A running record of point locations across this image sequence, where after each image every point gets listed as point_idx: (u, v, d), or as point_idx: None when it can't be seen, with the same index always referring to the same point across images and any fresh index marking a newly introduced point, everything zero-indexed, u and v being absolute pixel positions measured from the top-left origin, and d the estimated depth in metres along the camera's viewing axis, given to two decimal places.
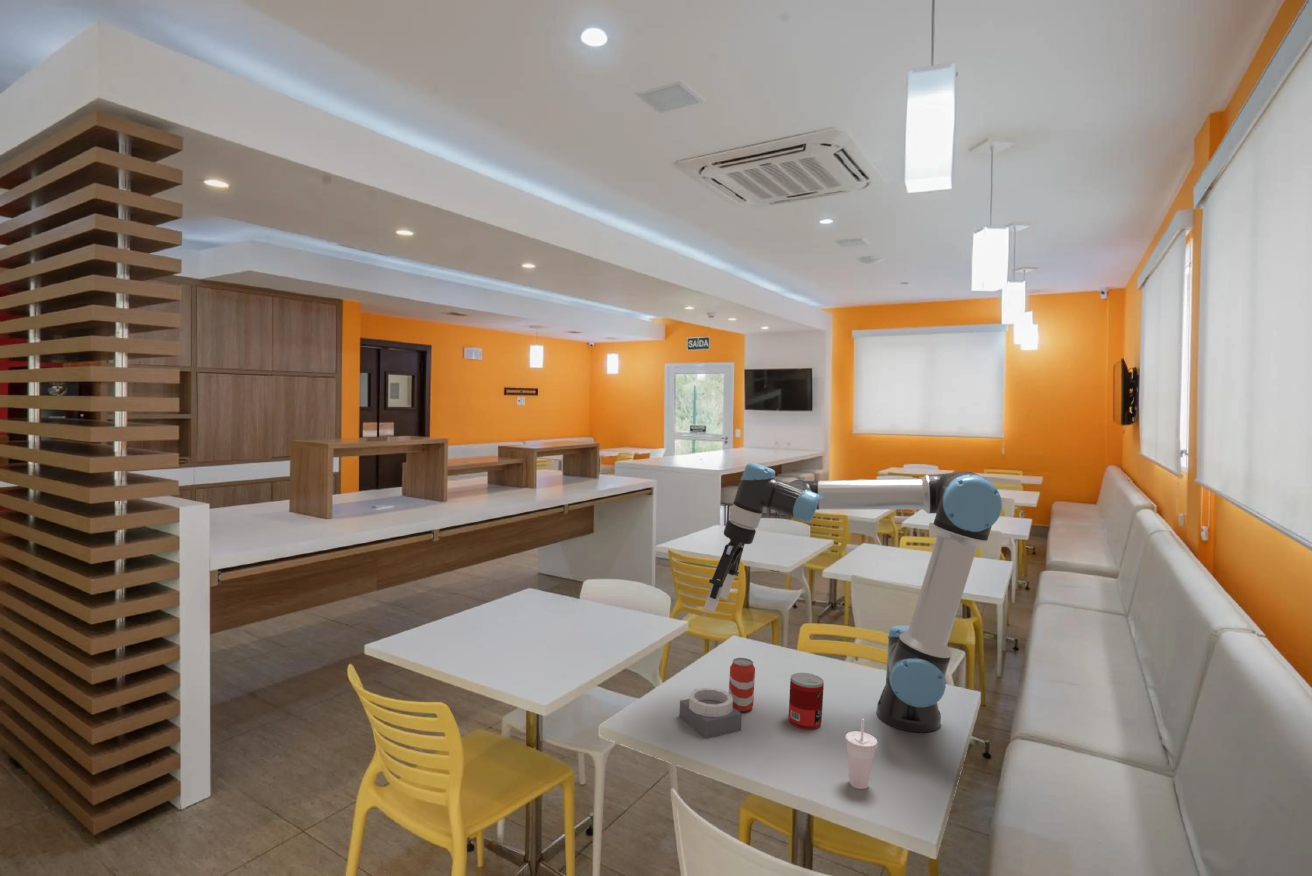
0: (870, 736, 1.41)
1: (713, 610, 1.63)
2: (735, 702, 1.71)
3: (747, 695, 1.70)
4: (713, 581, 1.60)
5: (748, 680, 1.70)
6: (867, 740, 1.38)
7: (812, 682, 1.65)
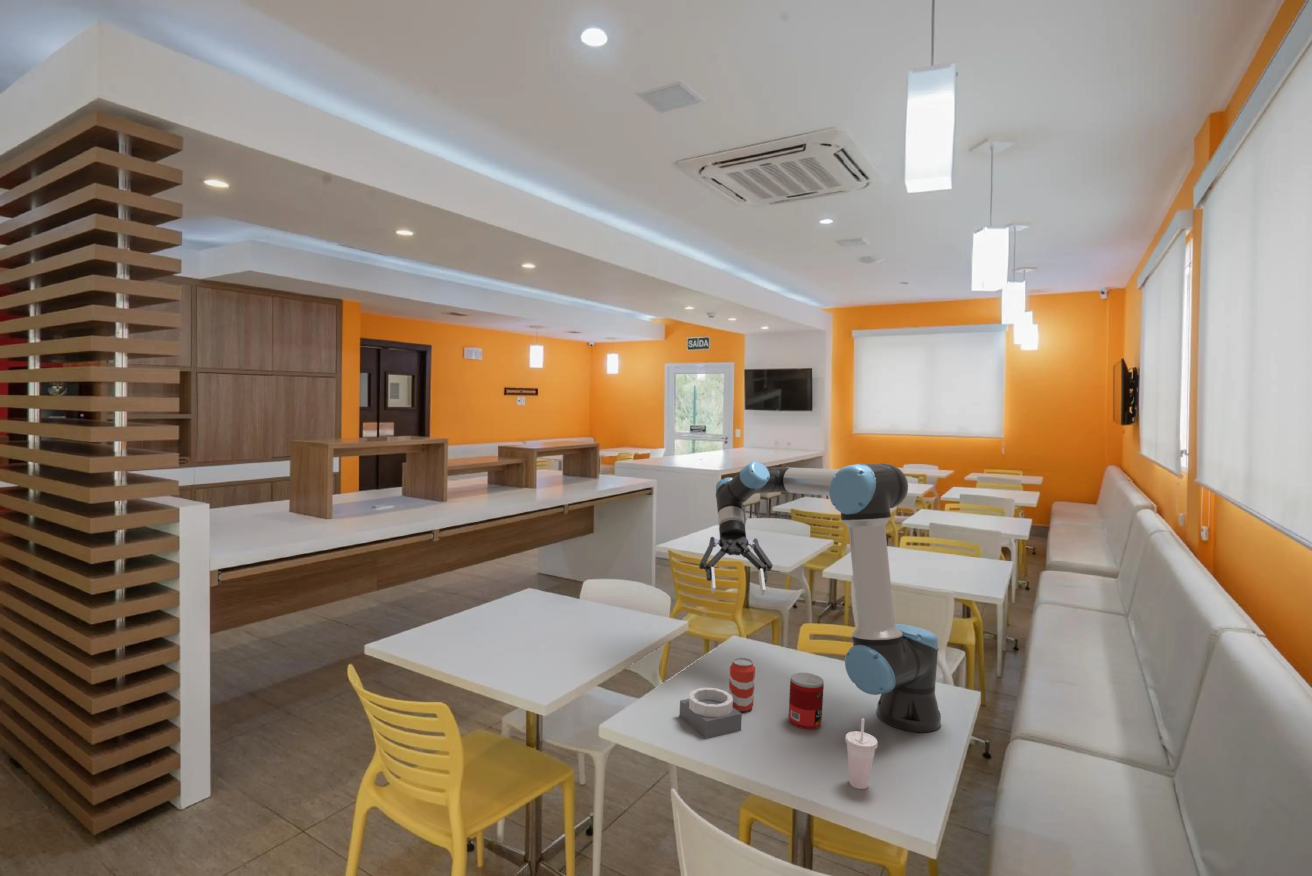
0: (870, 736, 1.41)
1: (712, 587, 1.82)
2: (735, 702, 1.71)
3: (747, 695, 1.70)
4: (699, 566, 1.88)
5: (748, 680, 1.70)
6: (867, 740, 1.38)
7: (812, 682, 1.65)
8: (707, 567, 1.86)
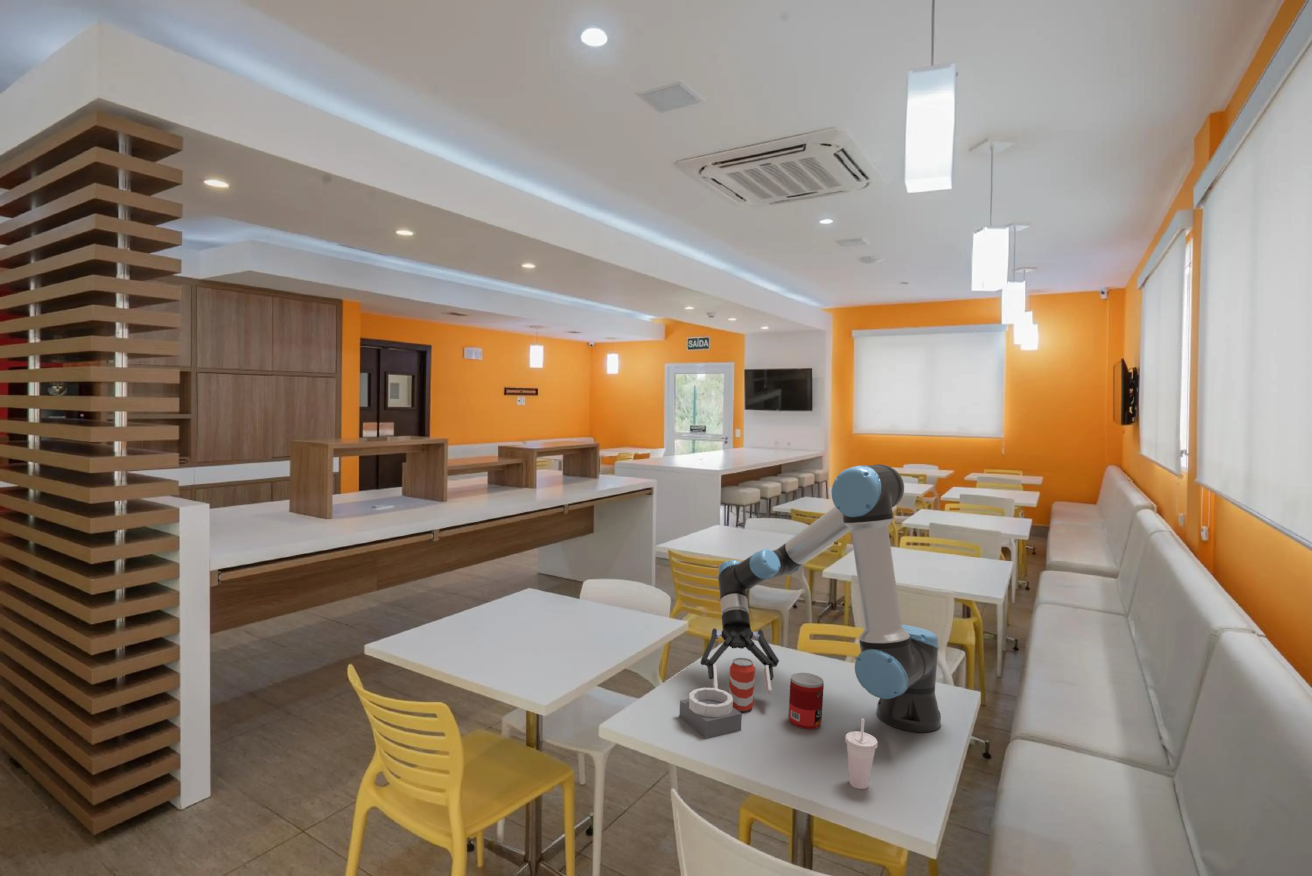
0: (870, 736, 1.41)
1: None
2: (735, 702, 1.71)
3: (747, 695, 1.70)
4: None
5: (748, 680, 1.70)
6: (867, 740, 1.38)
7: (812, 682, 1.65)
8: (709, 664, 1.75)
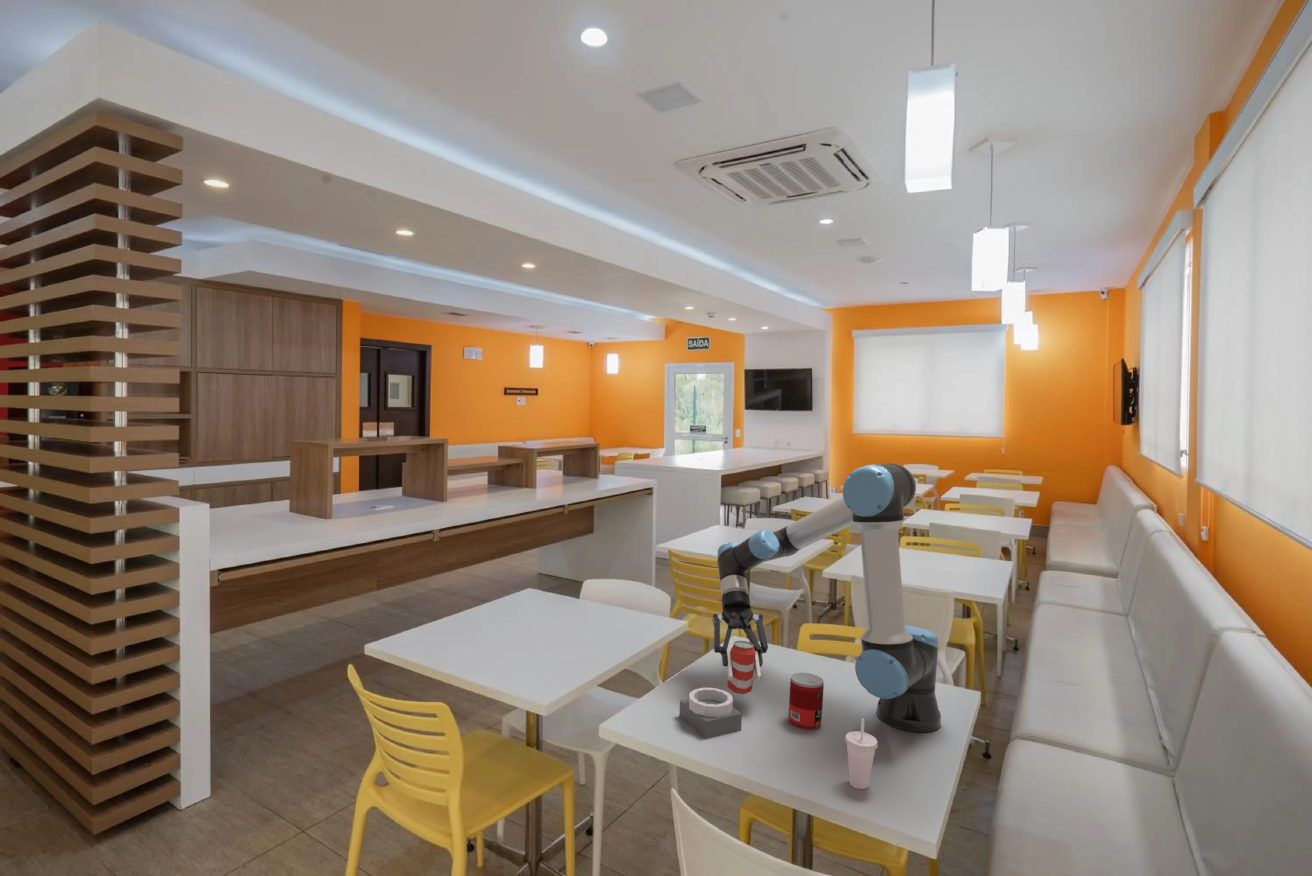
0: (870, 736, 1.41)
1: (729, 674, 1.69)
2: (734, 684, 1.70)
3: (746, 678, 1.70)
4: (714, 649, 1.75)
5: (749, 662, 1.70)
6: (867, 740, 1.38)
7: (812, 682, 1.65)
8: (724, 652, 1.73)
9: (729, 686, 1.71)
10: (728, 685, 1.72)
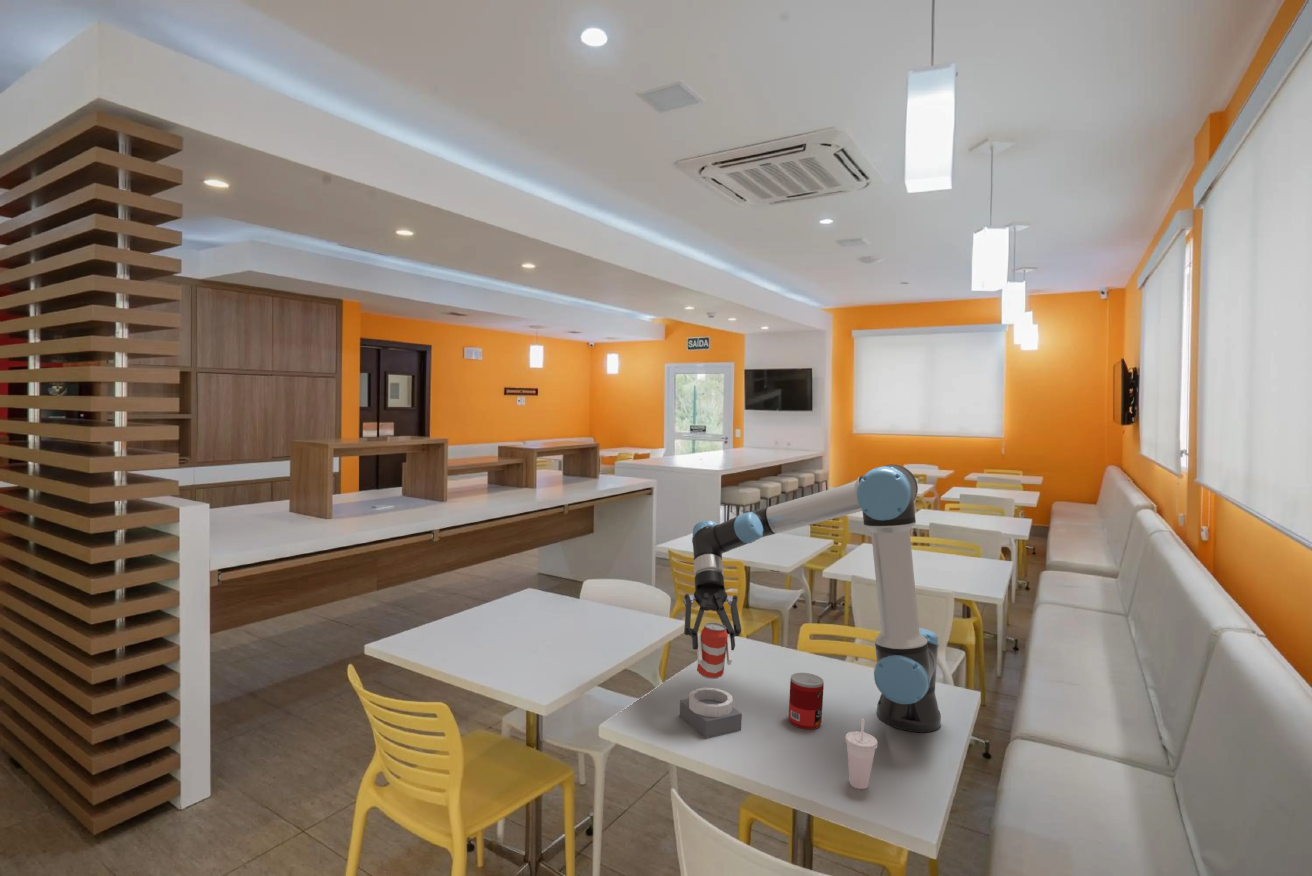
0: (870, 736, 1.41)
1: (698, 658, 1.59)
2: (704, 668, 1.61)
3: (717, 662, 1.60)
4: (684, 631, 1.65)
5: (720, 645, 1.60)
6: (867, 740, 1.38)
7: (812, 682, 1.65)
8: (694, 634, 1.63)
9: (699, 670, 1.62)
10: (698, 669, 1.63)
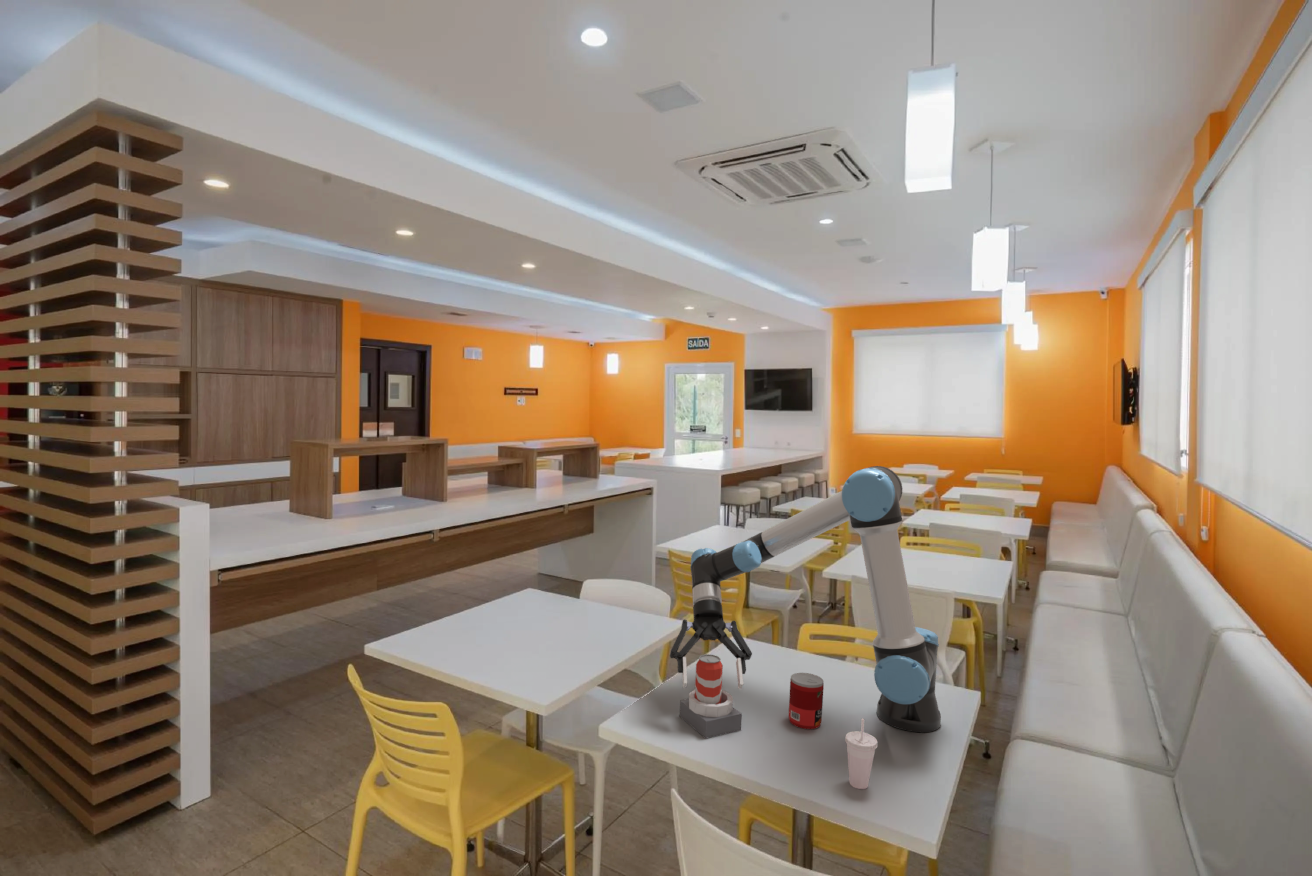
0: (870, 736, 1.41)
1: (683, 682, 1.60)
2: (701, 701, 1.61)
3: (714, 694, 1.61)
4: (670, 654, 1.66)
5: (715, 677, 1.61)
6: (867, 740, 1.38)
7: (812, 682, 1.65)
8: (678, 657, 1.65)
9: None
10: None
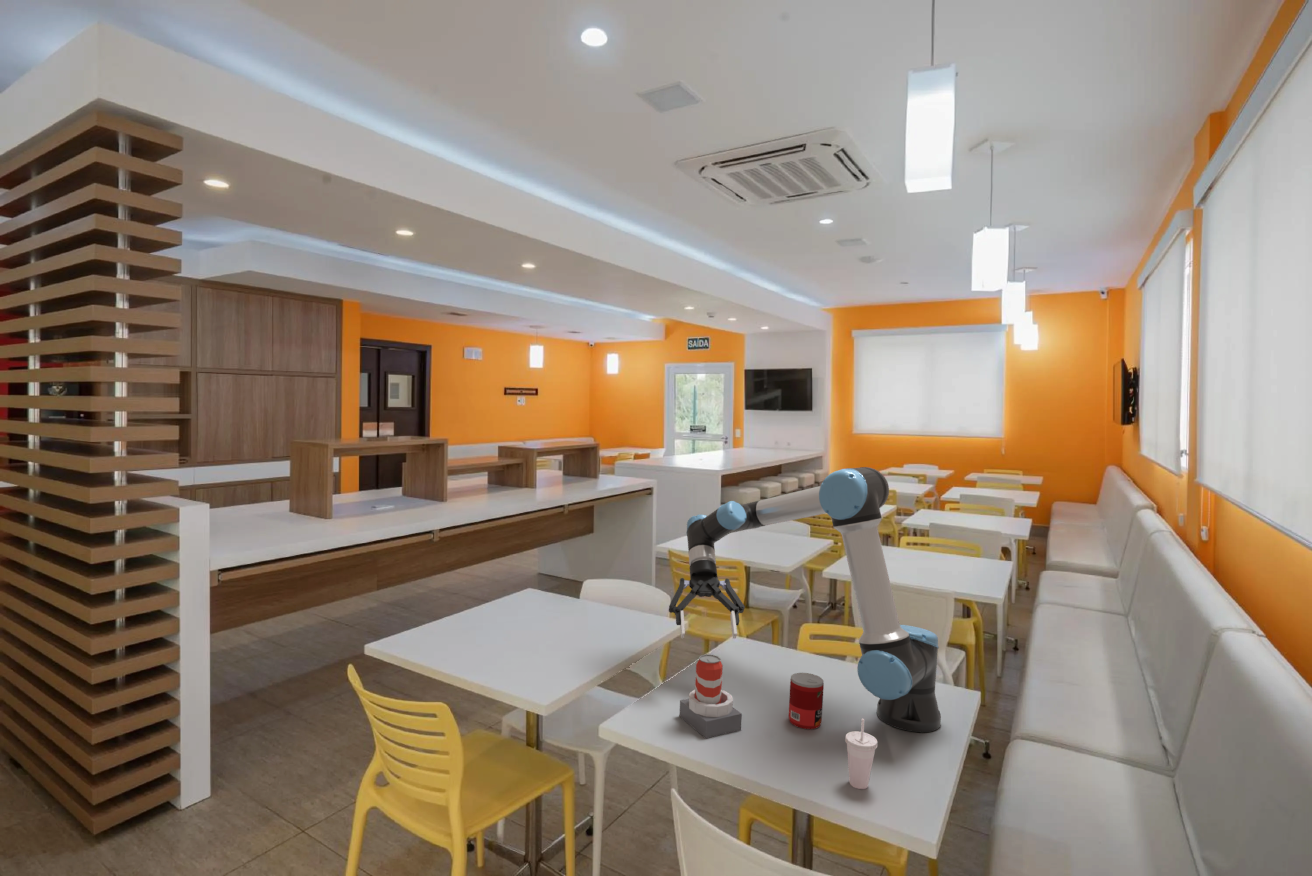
0: (870, 736, 1.41)
1: (681, 632, 1.74)
2: (701, 701, 1.61)
3: (714, 694, 1.61)
4: None
5: (715, 677, 1.61)
6: (867, 740, 1.38)
7: (812, 682, 1.65)
8: (676, 611, 1.79)
9: None
10: None
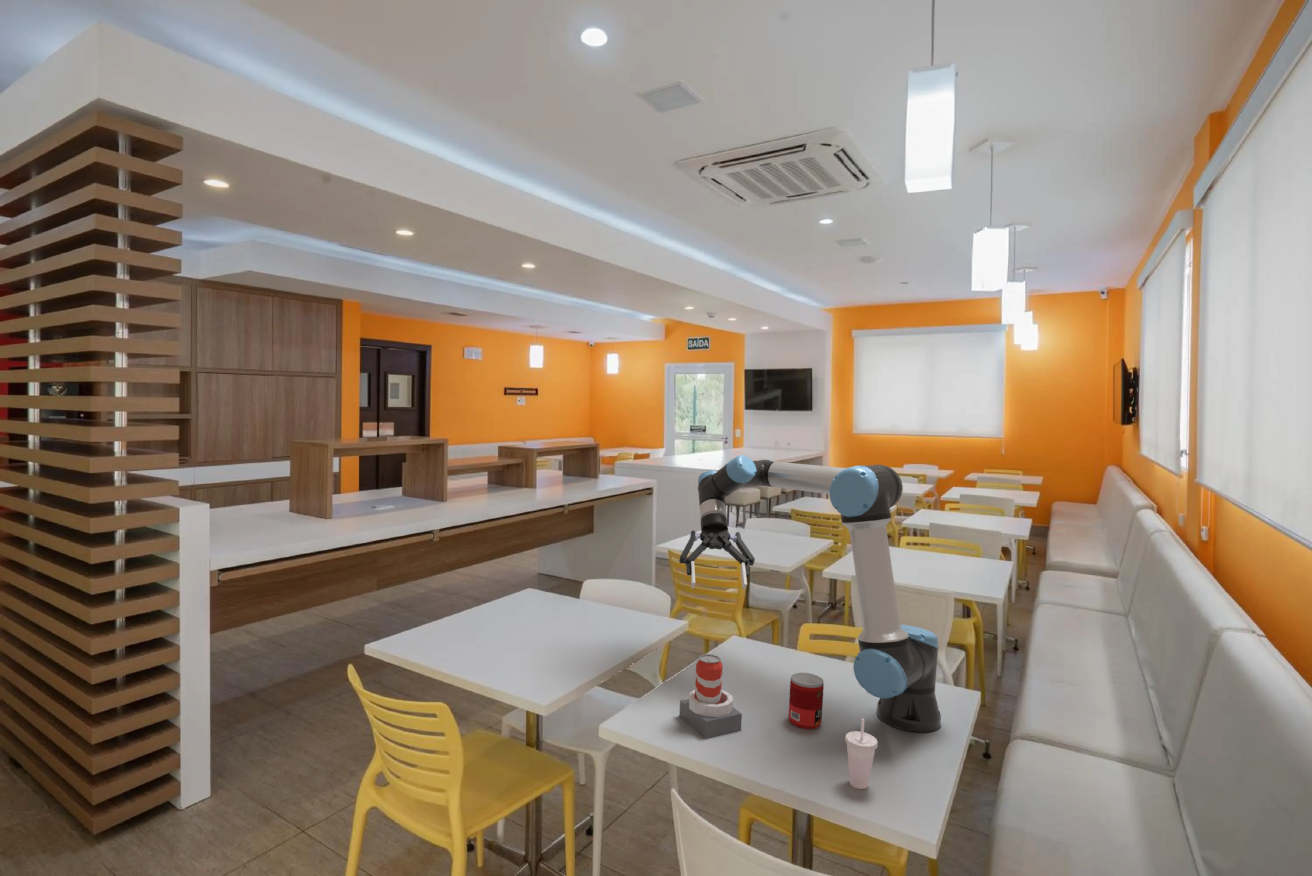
0: (870, 736, 1.41)
1: (692, 582, 1.76)
2: (701, 701, 1.61)
3: (714, 694, 1.61)
4: (679, 560, 1.82)
5: (715, 677, 1.61)
6: (867, 740, 1.38)
7: (812, 682, 1.65)
8: (687, 561, 1.81)
9: None
10: None
